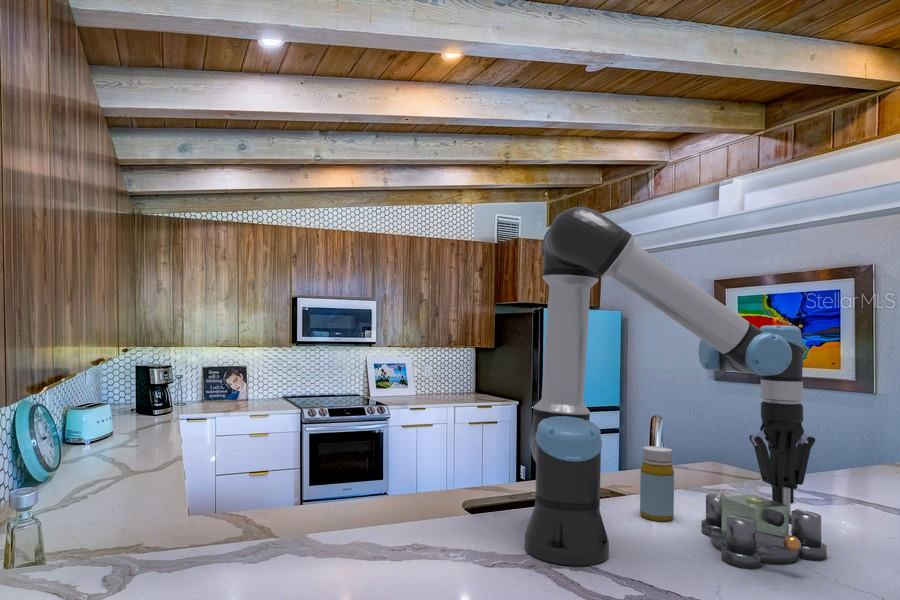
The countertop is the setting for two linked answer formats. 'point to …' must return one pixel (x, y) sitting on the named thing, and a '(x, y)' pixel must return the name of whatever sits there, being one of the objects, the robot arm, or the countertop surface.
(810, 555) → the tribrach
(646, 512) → the bottle
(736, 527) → the foot screw
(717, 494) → the foot screw
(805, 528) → the foot screw
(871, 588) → the countertop surface
